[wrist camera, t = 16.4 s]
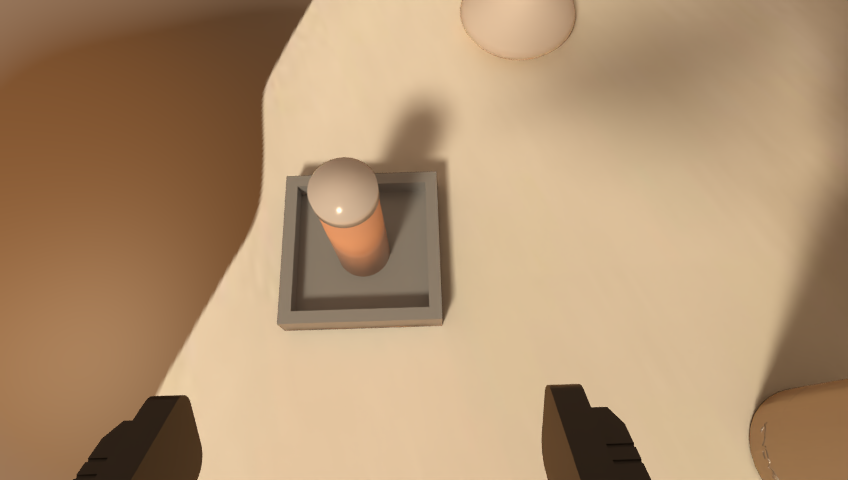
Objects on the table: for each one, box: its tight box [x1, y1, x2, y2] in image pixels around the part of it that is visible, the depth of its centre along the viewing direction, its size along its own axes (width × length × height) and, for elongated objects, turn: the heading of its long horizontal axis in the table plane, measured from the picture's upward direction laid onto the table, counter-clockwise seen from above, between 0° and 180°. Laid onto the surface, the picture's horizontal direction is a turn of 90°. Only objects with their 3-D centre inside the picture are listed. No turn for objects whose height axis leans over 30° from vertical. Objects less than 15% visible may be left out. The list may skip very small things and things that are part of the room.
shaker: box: [307, 157, 390, 277], centre depth 42 cm, size 5×5×12 cm
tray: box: [277, 171, 442, 331], centre depth 48 cm, size 13×13×2 cm
